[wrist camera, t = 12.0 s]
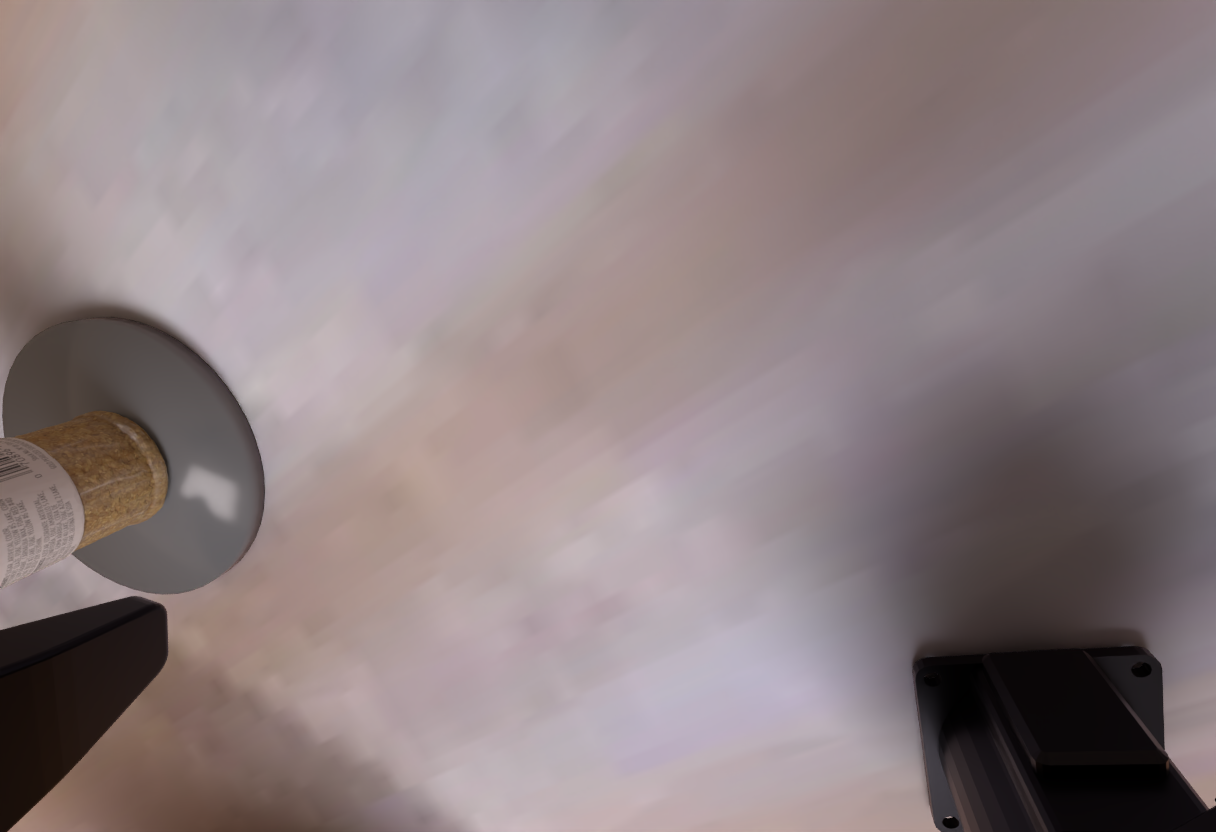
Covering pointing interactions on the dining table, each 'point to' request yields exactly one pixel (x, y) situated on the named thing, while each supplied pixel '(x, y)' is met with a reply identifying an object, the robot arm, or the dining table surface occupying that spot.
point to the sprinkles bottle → (74, 489)
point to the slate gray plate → (180, 427)
